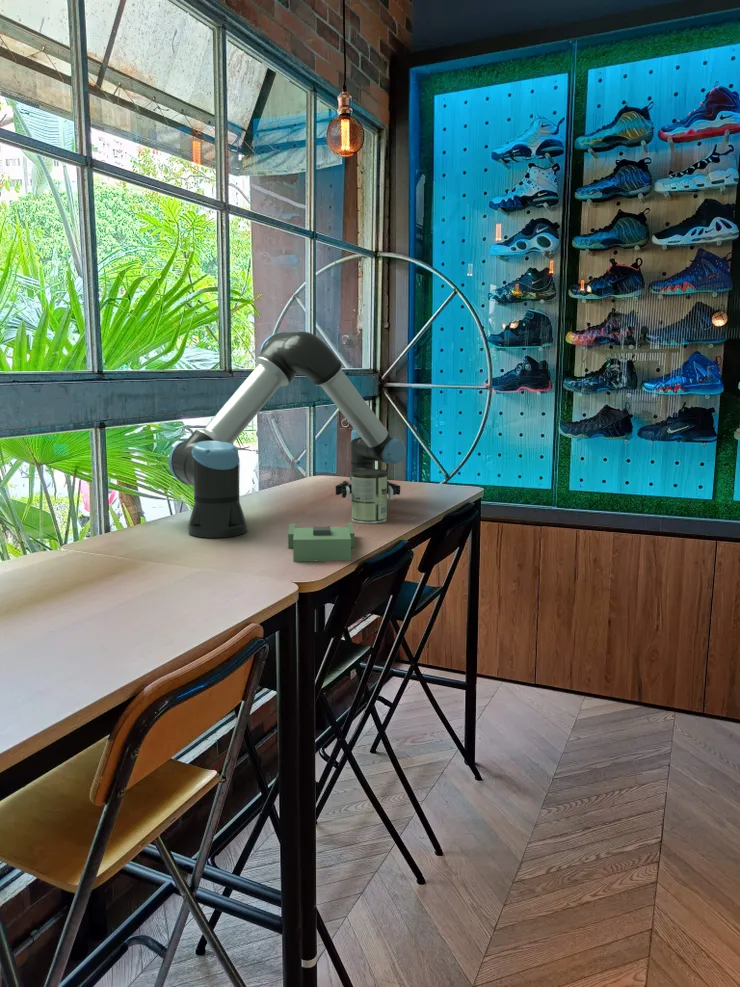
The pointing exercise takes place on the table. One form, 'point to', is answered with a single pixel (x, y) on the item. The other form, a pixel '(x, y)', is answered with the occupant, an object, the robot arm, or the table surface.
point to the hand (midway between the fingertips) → (370, 494)
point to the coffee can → (369, 496)
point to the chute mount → (321, 543)
